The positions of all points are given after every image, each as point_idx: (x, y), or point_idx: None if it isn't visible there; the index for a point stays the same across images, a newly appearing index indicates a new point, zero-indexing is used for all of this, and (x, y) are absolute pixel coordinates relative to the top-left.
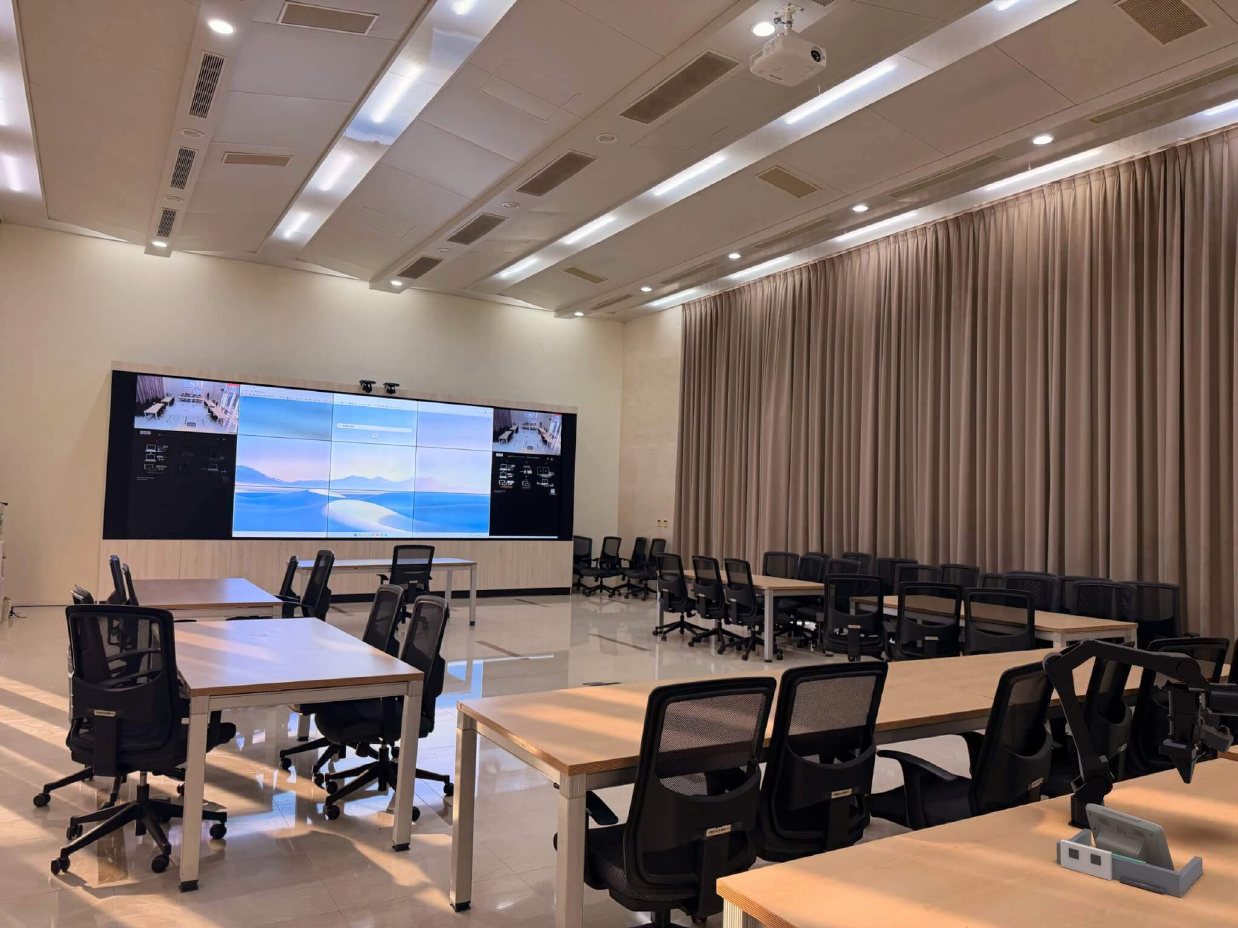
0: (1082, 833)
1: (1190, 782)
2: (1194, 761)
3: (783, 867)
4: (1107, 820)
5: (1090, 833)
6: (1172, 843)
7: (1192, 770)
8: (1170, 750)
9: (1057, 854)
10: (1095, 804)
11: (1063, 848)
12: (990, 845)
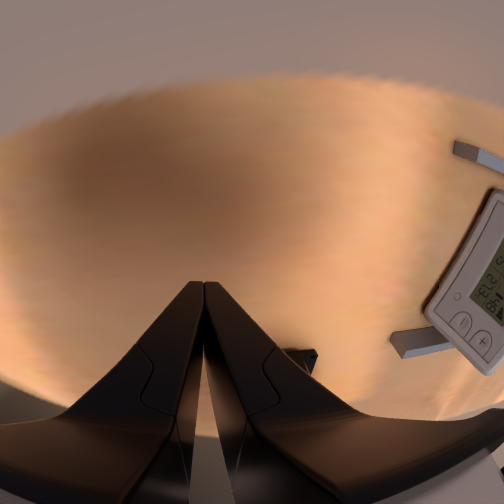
0: (429, 349)
1: (200, 282)
2: (179, 411)
3: (494, 402)
4: (486, 333)
5: (406, 346)
6: (288, 217)
7: (193, 337)
8: None
9: None
10: (493, 367)
11: None
12: (439, 386)
